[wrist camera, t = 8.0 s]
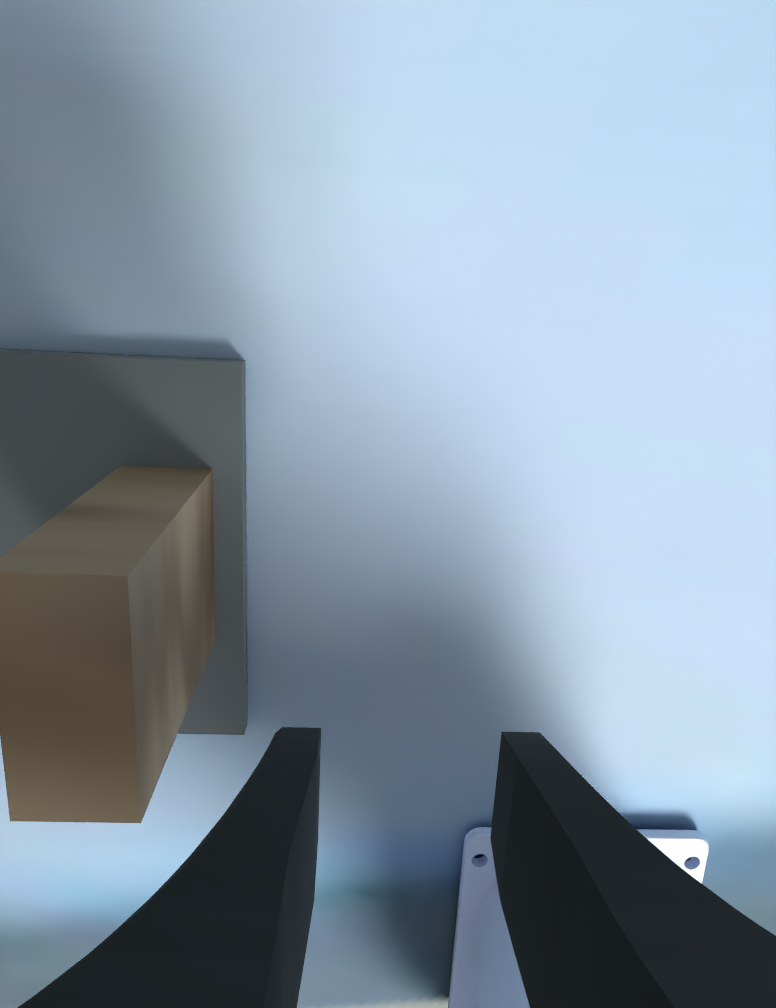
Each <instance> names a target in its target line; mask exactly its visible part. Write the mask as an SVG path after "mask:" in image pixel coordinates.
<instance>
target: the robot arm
mask: <svg viewBox="0 0 776 1008" xmlns="http://www.w3.org/2000/svg"><path fill="white" fill-rule="evenodd" d="M320 743H321V728H293V727H282V728H281V729H280V730H279V731H277V732H276V733H275V735H274V737H273V739H272V741H271V743H270V745H269V747H268V749H267V750H266V752H265V754H264V756H263V757H262V759H261V761H260V762H259V764H258V766H257V767H256V769H255V770H254V772H253V773H252V775H251V777H250V778H249V780H248V781H247V783H246V784H245V785H244V787H243V788H242V790H241V791H240V792H239V794H238V795H237V797H236V798H235V799H234V801H233V802H232V804H231V805H230V807H229V808H228V809H227V811H226V812H225V813H224V815H223V816H222V817H221V819H220V820H219V821H218V822H217V823H216V825H215V826H214V827H213V828H212V830H211V831H210V832H209V833H208V835H207V836H206V837H205V838H204V839H203V841H202V842H201V843H200V844H199V846H198V847H197V848H196V849H195V851H194V852H193V853H192V854H191V855H190V856H189V857H188V859H187V860H186V861H185V862H184V863H183V864H182V865H181V866H180V867H179V869H178V870H177V871H176V872H175V873H174V874H173V875H172V876H171V877H170V878H169V879H168V880H167V881H166V882H165V883H164V884H163V885H162V886H161V887H160V889H159V890H158V891H157V892H156V893H155V894H154V895H153V896H152V897H151V898H150V899H149V900H148V901H147V902H146V903H145V904H143V905H142V906H141V907H140V908H139V909H138V910H137V911H136V912H135V913H134V914H133V915H132V916H131V917H129V918H128V919H127V920H126V921H125V922H124V923H123V924H122V925H121V926H120V927H119V928H118V929H116V930H115V931H114V932H113V933H112V934H111V935H110V936H109V937H108V938H106V939H105V940H104V941H103V942H102V943H101V944H99V945H98V946H97V947H96V948H95V949H94V950H92V951H91V952H90V953H89V954H88V955H86V956H85V957H84V958H83V959H81V960H80V961H79V962H77V963H76V964H75V965H74V966H72V967H71V968H70V969H68V970H67V971H66V972H65V973H63V974H62V975H61V976H59V977H58V978H57V979H55V980H54V981H53V982H52V983H50V984H49V985H48V986H46V987H45V988H44V989H43V990H41V991H40V992H39V993H37V994H36V995H35V996H33V997H32V998H31V999H29V1000H28V1001H26V1002H25V1003H24V1004H22V1005H21V1006H19V1007H18V1008H297V1002H298V995H299V989H300V983H301V977H302V971H303V965H304V959H305V953H306V946H307V940H308V934H309V928H310V922H311V915H312V909H313V903H314V892H315V876H316V860H317V844H318V817H319V780H320ZM708 852H709V844H708V842H707V841H706V839H705V837H704V836H703V834H702V833H700V832H699V831H695V830H651V829H635V828H634V827H633V826H632V825H631V824H630V823H629V822H628V821H627V820H626V819H625V818H624V817H622V816H621V815H620V814H619V813H618V812H617V811H616V810H615V809H614V808H613V807H612V806H611V805H610V804H609V803H608V802H607V801H606V800H605V799H604V798H603V797H602V796H601V795H600V794H599V793H598V792H597V791H596V790H595V789H594V788H593V787H592V786H591V785H590V784H589V783H588V782H587V781H586V780H585V779H584V778H583V777H582V776H581V775H580V774H579V773H578V772H577V771H576V770H575V769H574V768H573V767H572V766H571V765H570V764H569V763H568V762H567V760H566V759H565V758H564V757H563V756H562V755H561V754H560V753H559V752H558V751H557V750H556V749H555V748H554V747H553V746H552V745H551V744H550V743H549V742H548V741H547V740H546V739H545V738H544V737H543V736H542V735H541V734H540V733H536V732H502V735H501V744H500V753H499V762H498V772H497V781H496V790H495V799H494V809H493V818H492V827H479V828H474V829H472V830H470V831H469V832H468V833H467V834H466V836H465V839H464V847H463V858H462V868H461V878H460V889H459V899H458V910H457V920H456V931H455V941H454V951H453V962H452V972H451V983H450V993H449V1004H448V1008H776V936H775V935H773V934H772V933H770V932H769V931H767V930H766V929H764V928H763V927H761V926H759V925H758V924H757V923H755V922H754V921H752V920H751V919H749V918H748V917H746V916H745V915H743V914H742V913H741V912H739V911H738V910H736V909H735V908H733V907H732V906H731V905H729V904H728V903H727V902H725V901H724V900H723V899H721V898H720V897H719V896H717V895H716V894H715V893H713V892H712V891H711V890H709V889H708V888H707V887H705V886H704V885H703V884H702V880H703V875H704V871H705V866H706V861H707V857H708ZM477 854H483V855H484V856H483V857H481V858H474V856H475V855H477ZM693 856H694V857H693ZM689 857H693V858H692V859H690V860H686V859H687V858H689ZM685 860H686V861H685Z"/></svg>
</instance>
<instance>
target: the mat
mask: <svg viewBox="0 0 776 1008" xmlns="http://www.w3.org/2000/svg"><path fill="white" fill-rule="evenodd" d="M120 466H145V467H170V468H195V469H212V473H213V529H214V585H215V641H214V643H213V646H212V648H211V651H210V653H209V656H208V658H207V661H206V663H205V666H204V668H203V671H202V673H201V676H200V678H199V681H198V683H197V686H196V688H195V690H194V693H193V695H192V698H191V700H190V703H189V705H188V708H187V710H186V713H185V715H184V718H183V720H182V723H181V725H180V728H179V730H178V732H177V733H180V734H230V735H244V734H245V730H246V726H247V607H246V436H245V360H226V359H205V358H183V357H161V356H140V355H118V354H96V353H75V352H53V351H32V350H10V349H0V557H1V556H2V555H4V554H5V553H6V552H8V551H9V550H10V549H12V548H13V547H14V546H16V545H17V544H18V543H20V542H21V541H22V540H23V539H25V538H26V537H27V536H29V535H30V534H31V533H33V532H34V531H35V530H37V529H38V528H39V527H41V526H42V525H43V524H45V523H46V522H47V521H49V520H50V519H51V518H53V517H54V516H55V515H56V514H58V513H59V512H60V511H62V510H63V509H64V508H66V507H67V506H68V505H70V504H71V503H72V502H74V501H75V500H76V499H78V498H79V497H80V496H82V495H83V494H84V493H85V492H87V491H88V490H89V489H91V488H92V487H93V486H95V485H96V484H97V483H99V482H100V481H101V480H103V479H104V478H105V477H107V476H108V475H109V474H111V473H112V472H113V471H114V470H116V469H117V468H118V467H120Z"/></svg>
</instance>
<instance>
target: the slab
mask: <svg viewBox="0 0 776 1008" xmlns="http://www.w3.org/2000/svg"><path fill="white" fill-rule="evenodd" d="M214 641H215V585H214V529H213V473H212V469H195V468H170V467H145V466H120V467H118V468H117V469H116V470H114V471H113V472H112V473H111V474H109V475H108V476H107V477H105V478H104V479H103V480H101V481H100V482H99V483H97V484H96V485H95V486H93V487H92V488H91V489H89V490H88V491H87V492H85V493H84V494H83V495H82V496H80V497H79V498H78V499H76V500H75V501H74V502H72V503H71V504H70V505H68V506H67V507H66V508H64V509H63V510H62V511H60V512H59V513H58V514H56V515H55V516H54V517H53V518H51V519H50V520H49V521H47V522H46V523H45V524H43V525H42V526H41V527H39V528H38V529H37V530H35V531H34V532H33V533H31V534H30V535H29V536H27V537H26V538H25V539H23V540H22V541H21V542H20V543H18V544H17V545H16V546H14V547H13V548H12V549H10V550H9V551H8V552H6V553H5V554H4V555H2V556H1V557H0V736H1V745H2V754H3V763H4V771H5V780H6V789H7V797H8V806H9V815H10V821H42V822H110V823H141V822H142V819H143V817H144V814H145V812H146V809H147V807H148V804H149V802H150V799H151V797H152V794H153V792H154V789H155V787H156V784H157V782H158V779H159V777H160V775H161V772H162V770H163V767H164V765H165V762H166V760H167V757H168V755H169V752H170V750H171V747H172V745H173V742H174V740H175V737H176V735H177V732H178V730H179V728H180V725H181V723H182V720H183V718H184V715H185V713H186V710H187V708H188V705H189V703H190V700H191V698H192V695H193V693H194V690H195V688H196V686H197V683H198V681H199V678H200V676H201V673H202V671H203V668H204V666H205V663H206V661H207V658H208V656H209V653H210V651H211V648H212V646H213V643H214Z"/></svg>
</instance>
